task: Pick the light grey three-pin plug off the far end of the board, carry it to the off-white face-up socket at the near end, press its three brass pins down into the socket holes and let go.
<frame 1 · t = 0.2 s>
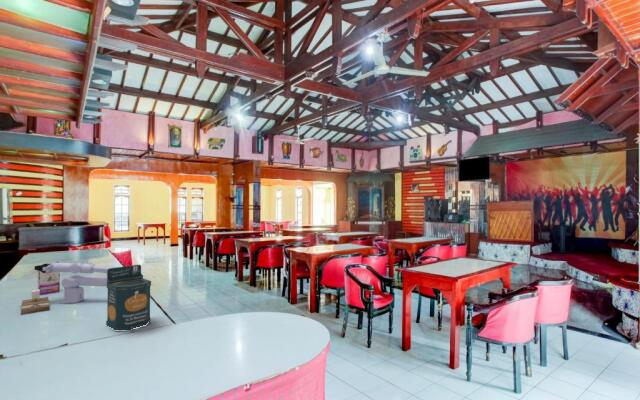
hand: (40, 267, 206), 21 cm above the counter, tool horizontal, fingers open, 7 cm apart
socket board: (35, 307, 194), on the counter
candy bar box: (48, 293, 226), on the counter
donation box: (130, 325, 165), on the counter
plug: (35, 300, 198), point 2 cm above the counter, touching socket board
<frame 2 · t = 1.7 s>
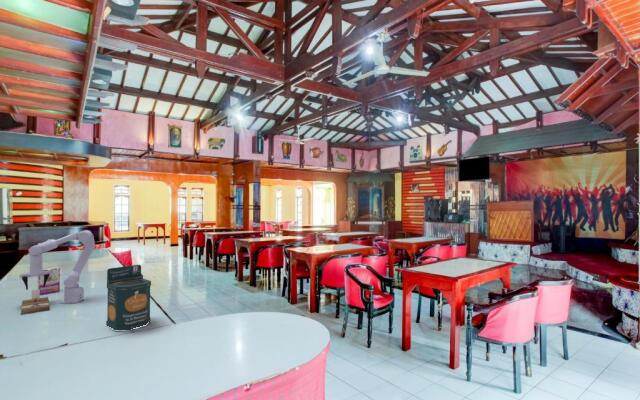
hand: (35, 288, 198), 10 cm above the counter, tool pointing down, fingers open, 7 cm apart
nothing on the counter moved.
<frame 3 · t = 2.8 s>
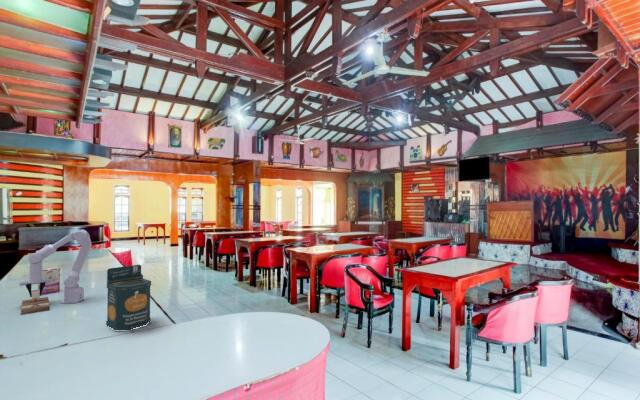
hand: (35, 296, 198), 5 cm above the counter, tool pointing down, fingers closed on plug, 4 cm apart
plug: (35, 300, 198), point 2 cm above the counter, touching gripper, socket board
everything else where it was.
when the fingers open (3 cm above the counter, at t = 6.9 s): plug stays where it is, resting on socket board.
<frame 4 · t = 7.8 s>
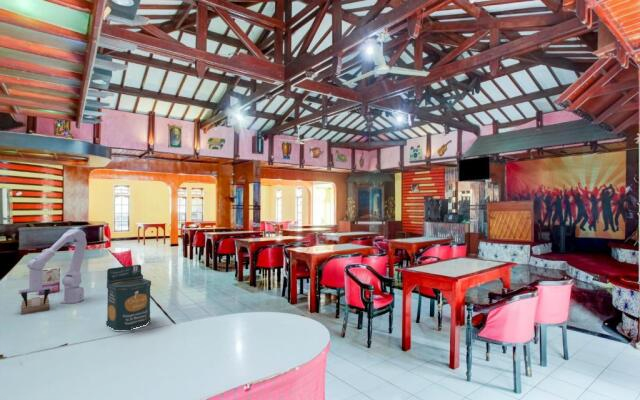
hand: (35, 304, 189), 3 cm above the counter, tool pointing down, fingers open, 7 cm apart
plug: (35, 308, 189), resting on socket board
everything else where it was.
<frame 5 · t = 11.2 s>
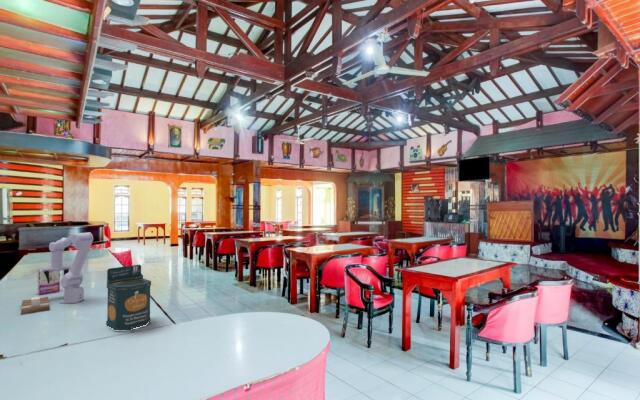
hand: (56, 282, 212), 10 cm above the counter, tool pointing down, fingers open, 7 cm apart
nothing on the counter moved.
at the end: plug 0.3 cm from the target spot, point 0.5 cm above the counter; plug tilted 0°; the gripper is holding nothing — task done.
